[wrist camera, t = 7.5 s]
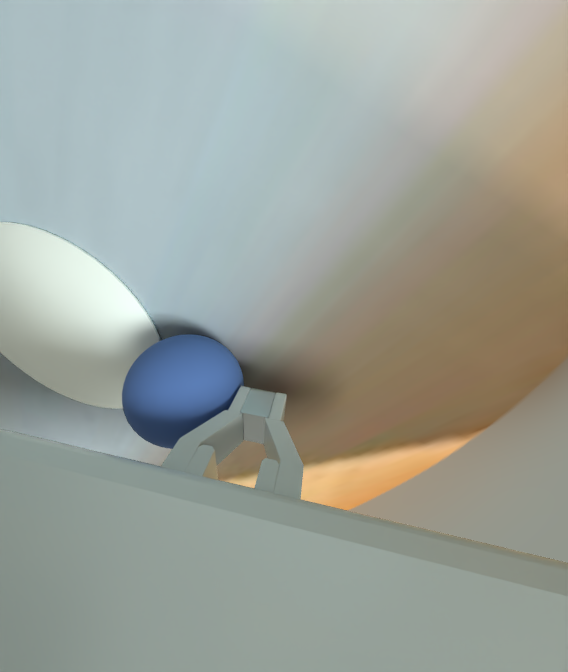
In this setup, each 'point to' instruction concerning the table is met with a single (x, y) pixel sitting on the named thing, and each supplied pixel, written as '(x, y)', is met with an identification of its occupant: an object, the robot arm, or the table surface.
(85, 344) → the disc
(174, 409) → the ball
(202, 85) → the table surface
